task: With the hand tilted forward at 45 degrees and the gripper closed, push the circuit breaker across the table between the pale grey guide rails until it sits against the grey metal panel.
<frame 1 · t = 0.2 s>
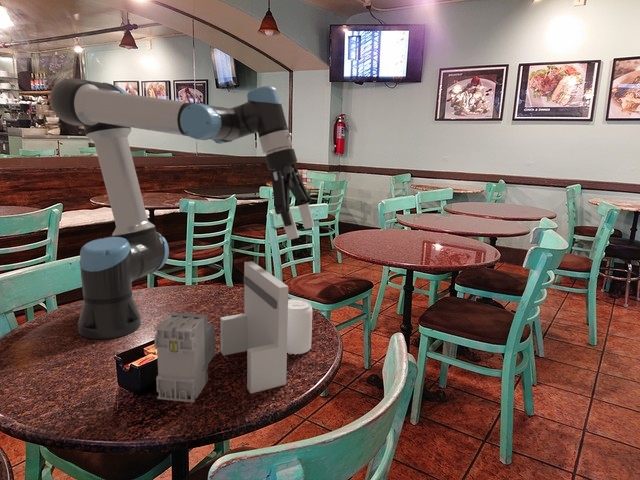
hand: (302, 233, 115), 28 cm above the table, tool tilted 20°, fingers open, 13 cm apart
breaker panel: (251, 367, 103), on the table
circuit breaker: (189, 382, 96), on the table
beverage can: (294, 349, 112), on the table
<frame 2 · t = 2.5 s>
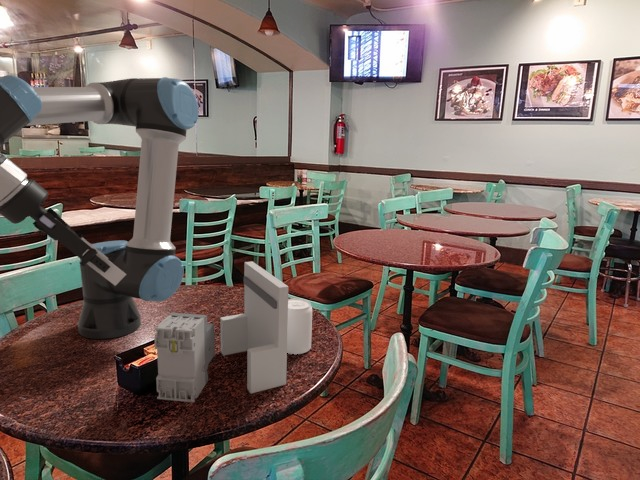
hand: (111, 271, 87), 25 cm above the table, tool tilted 45°, fingers open, 13 cm apart
nothing on the table moved.
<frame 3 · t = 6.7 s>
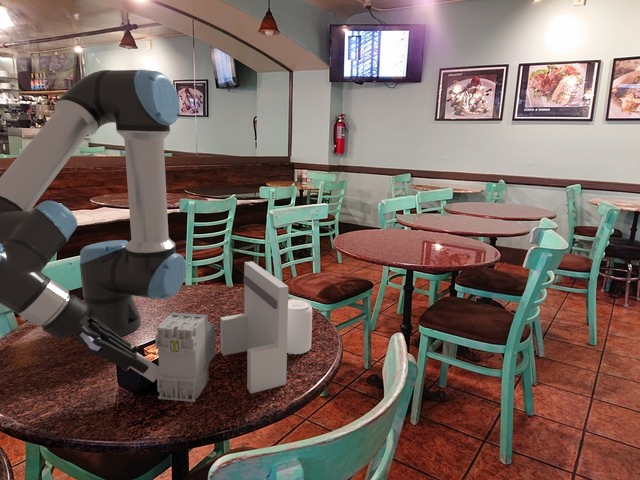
hand: (157, 375, 91), 3 cm above the table, tool tilted 45°, fingers closed
circuit breaker: (189, 382, 96), on the table, touching gripper
everything else where it was.
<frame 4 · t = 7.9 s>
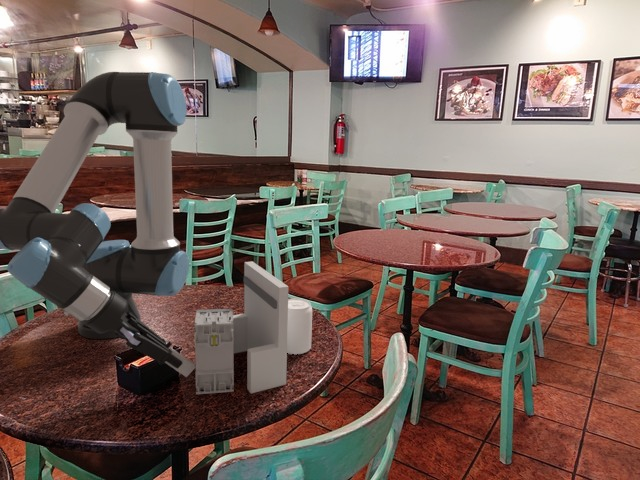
hand: (190, 370, 94), 3 cm above the table, tool tilted 45°, fingers closed
circuit breaker: (215, 375, 99), on the table, touching gripper
everything else where it was.
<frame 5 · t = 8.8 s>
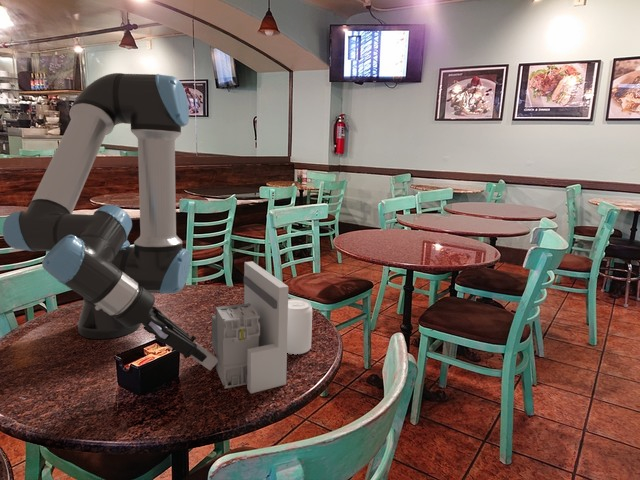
hand: (213, 363, 97), 3 cm above the table, tool tilted 45°, fingers closed
circuit breaker: (234, 370, 102), on the table, touching breaker panel, gripper
everything else where it was.
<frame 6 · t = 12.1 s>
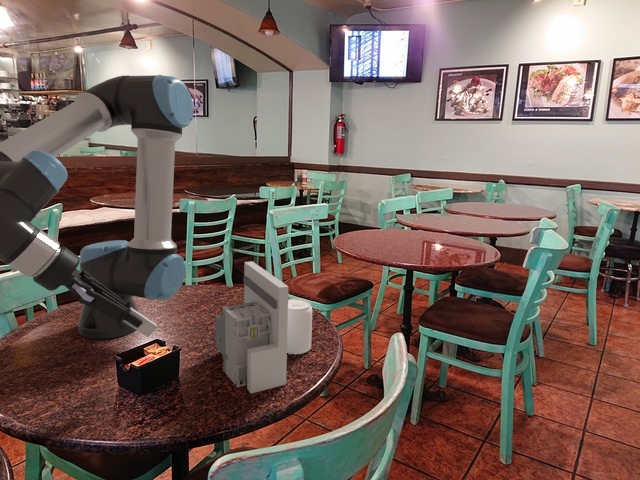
hand: (151, 330, 91), 12 cm above the table, tool tilted 45°, fingers closed
circuit breaker: (240, 368, 102), on the table
everything else where it was.
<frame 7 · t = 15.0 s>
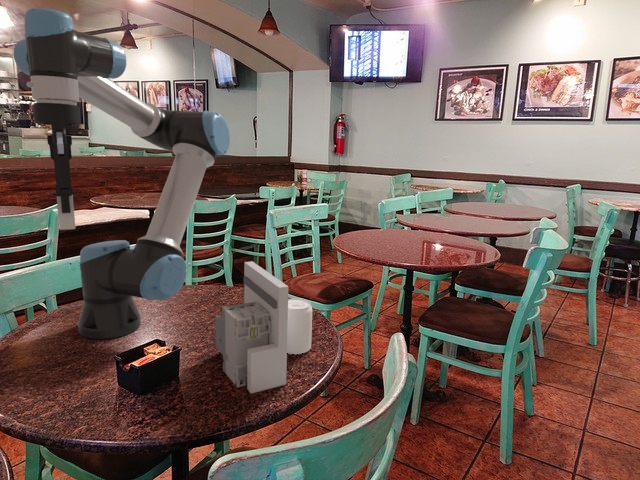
hand: (67, 228, 88), 32 cm above the table, tool pointing down, fingers closed
nothing on the table moved.
at the end: circuit breaker inside the target area (0.8 cm from its centre), on the table; circuit breaker tilted 0° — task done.
